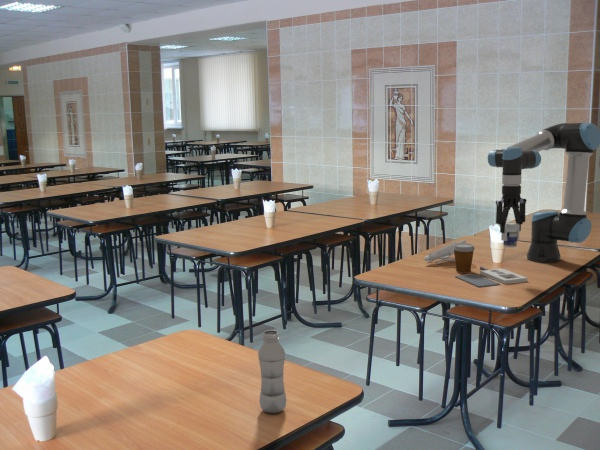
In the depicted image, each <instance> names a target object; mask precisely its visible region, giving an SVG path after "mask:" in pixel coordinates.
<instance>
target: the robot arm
mask: <svg viewBox="0 0 600 450" xmlns="http://www.w3.org/2000/svg"><path fill="white" fill-rule="evenodd" d="M599 145H600V129H599V127H598V126H597V125H596V124H594V123H591V122H590V123H589V122H572V123H571V122H570V123H569V122H563V123H557V124H554V125H552V126H548V127H545V128H544V129H542V130H539V131H538V132H537V133H536V134H535V135H533V136H530V137H528V138H525V139H523V140H521V141H519V142H517V143H514V144H511V145H509V146H507V147H504V148H502V149H492V150H490V152H488V155H487V163H488V165H489V166H490V167H493V168H494V167H495V168H502V176H501V177H502V180H501V181H502V182H501V184H502V186H501V195H502V196H501V199H499V200H498V199H497V200H495V204H496V210H495V211H496V212H495V213H496V214H495V224H496V225H497V224H498V226H500V227H499V229H500V230H499V232H500V233H501V236H500V237H501V239H500V240H501V241H503V242H504V241H507V226H506V223H507V221H508V220H507V219H508V217H509V213H510V210H511V208H512V210H513V211H512V212H513V216H514V221H515V224H516V227H515V228H516V229H517V241H520V232H521V230H522V225H523V224H524V223H525V222H526V203H527V199H526V198H523V197H521V193H522V185H521V184H522V172H523V171H522V170H529V169H530V170H531V169H535V168H537V167H539V166H540V164H541V162H542V156H541V153H540V152H541V151H549V150H551V149H564V150H565V154H566V155H567V157H568V158H567V167H566V178H565V187H564V188H565V189H564V198H563V208H562V209H561V210H559V211H558V210H547V211H539V212H534V213H533V214H532V216H531V233H530V234H531V237H530V238H531V239H530V245H529V247H528V251H527V253H526V259H527V260H528V261H531V262H535V263H536V262H537V263H557V262H560V261H561V259H562V257H561V253H560V249H559V246H558V241H563V242H568V243H569V242H570V243H572V244H573V243H576V244H581V243H583V242H585V241H586V240H587V238H588V237H589V236H590V233H591V231H592V221H591V220H590V219H589V218H587V216H588V214H587V212H586V211H585V199H586V191H587V183H588V182H587V180H588V174H589V173H588V171H589V162H590V157H592V155H594V150H597V149H598V148H599V147H600V146H599Z"/></svg>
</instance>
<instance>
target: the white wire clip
mask: <svg viewBox="0 0 600 450" xmlns="http://www.w3.org/2000/svg"><path fill="white" fill-rule="evenodd" d="M458 243H467V241H466V240H465V239H463V240H461V241H458V242H456V241H453V242H451V243H449V244H447V245H444V246H442V247H440V248H438V249H436V250H435V251H432V252H429V253H428V254H427V255H425V256H424V258H423V260H424V261H425V262H427V263H429V264H430V263H432V262H434V261H436V260H439V261H436V263H435V265H436V266H437V265H438V264H441V263H442V262H453V263H455V258H450V257H452V256H453V255H454V249H453V247H454V244H458Z"/></svg>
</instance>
